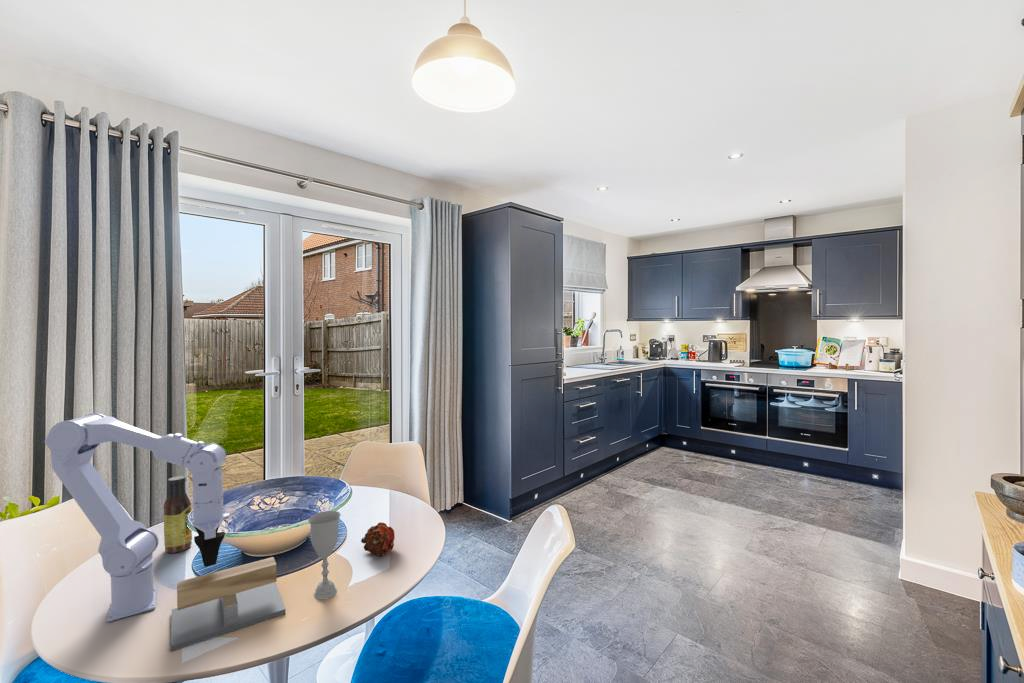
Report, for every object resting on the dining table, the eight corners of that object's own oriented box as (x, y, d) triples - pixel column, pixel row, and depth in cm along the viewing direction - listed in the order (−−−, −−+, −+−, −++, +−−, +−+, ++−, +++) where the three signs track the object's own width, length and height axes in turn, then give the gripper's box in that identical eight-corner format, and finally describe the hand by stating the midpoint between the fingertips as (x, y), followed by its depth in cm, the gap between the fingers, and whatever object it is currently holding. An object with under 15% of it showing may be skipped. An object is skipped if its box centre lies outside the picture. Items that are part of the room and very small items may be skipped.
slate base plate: (171, 613, 99) (171, 609, 99) (274, 583, 111) (274, 579, 111) (170, 651, 88) (170, 646, 88) (285, 613, 100) (285, 608, 100)
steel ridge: (220, 596, 104) (219, 579, 104) (232, 593, 105) (232, 576, 105) (224, 627, 93) (224, 608, 93) (238, 623, 95) (237, 604, 95)
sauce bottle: (192, 550, 127) (190, 479, 127) (163, 556, 124) (162, 483, 123) (192, 540, 133) (190, 473, 132) (165, 546, 129) (163, 477, 128)
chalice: (325, 605, 103) (324, 525, 102) (301, 598, 105) (301, 521, 104) (347, 587, 110) (347, 513, 109) (325, 581, 112) (324, 509, 111)
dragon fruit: (380, 569, 120) (374, 555, 131) (405, 545, 124) (397, 533, 135) (359, 546, 119) (355, 534, 130) (385, 521, 122) (379, 511, 133)
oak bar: (177, 600, 96) (177, 582, 96) (273, 573, 106) (273, 556, 106) (177, 610, 92) (176, 591, 92) (276, 581, 103) (276, 564, 103)
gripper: (231, 505, 101) (232, 566, 101) (226, 486, 112) (227, 540, 113) (192, 513, 97) (193, 576, 97) (191, 492, 108) (192, 549, 109)
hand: (209, 558), depth 105 cm, fingers open, 7 cm apart
